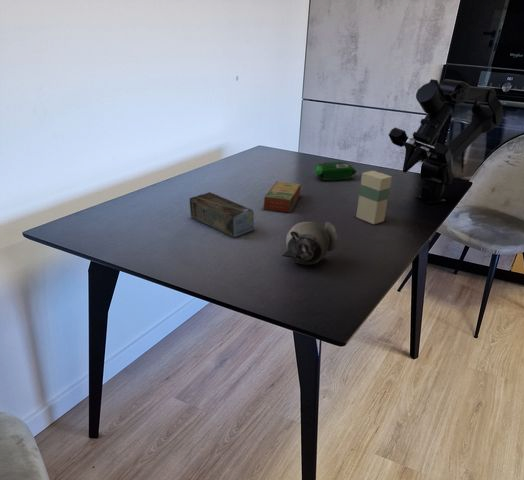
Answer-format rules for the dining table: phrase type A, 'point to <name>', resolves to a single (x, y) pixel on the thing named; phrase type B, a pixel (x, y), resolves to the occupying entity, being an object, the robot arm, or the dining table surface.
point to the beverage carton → (222, 214)
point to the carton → (282, 197)
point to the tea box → (373, 196)
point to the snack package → (334, 171)
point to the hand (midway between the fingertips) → (403, 171)
